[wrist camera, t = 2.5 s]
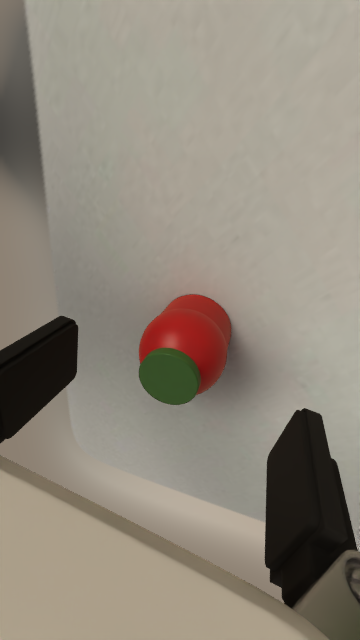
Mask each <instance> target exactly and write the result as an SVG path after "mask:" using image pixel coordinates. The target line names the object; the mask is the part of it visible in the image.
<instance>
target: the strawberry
mask: <svg viewBox="0 0 360 640" xmlns="http://www.w3.org/2000/svg"><path fill="white" fill-rule="evenodd" d="M230 337H231V323H230V320H229V318H228V316H227V314H226V312H225V311H224V310H223V308H222V307H221V306H220V305H219V304H217V303H216V302H215V301H213V300H211V299H209V298H207V297H204V296H200V295H185V296H181V297H179V298H177V299H175V300H174V301H172V302H171V303H170V304H169V305H168V306H167V307H166V309H165V310H164V311H163V312H162V313H161V314H160V315H159V316H157V317H156V318H155V319H154V320H153V321H152V322H151V323H150V324H149V325H148V326H147V328H146V329H145V331H144V333H143V335H142V338H141V341H140V345H139V360H140V364H141V365H140V368H139V378H140V381H141V384H142V386H143V387H144V389H145V390H146V391H147V392H148V393H149V394H150V395H151V396H152V397H154V398H155V399H157V400H159V401H161V402H163V403H166V404H171V405H181V404H185V403H187V402H189V401H191V400H192V399H193V398H194V397H195V396H196V395H198V394H200V393H202V392H204V391H206V390H208V389H209V388H210V387H211V386H213V385H214V384H215V383H216V382H217V380H218V379H219V377H220V376H221V374H222V372H223V370H224V367H225V364H226V359H227V348H228V345H229V341H230Z"/></svg>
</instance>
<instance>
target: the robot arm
mask: <svg viewBox="0 0 360 640" xmlns="http://www.w3.org/2000/svg"><path fill="white" fill-rule="evenodd" d="M77 350H78V325H76V322H75V321H74V320H72V319H70V318H67V317H65V316H59V317H57V318H56V319H54V320H52V321H51V322H49V323H47V324H45V325H44V326H42V327H40V328H38V329H37V330H35V331H33V332H32V333H30V334H28V335H26V336H25V337H23V338H21V339H20V340H18V341H16V342H14V343H13V344H11V345H9V346H7V347H6V348H4V349H2V350H1V351H0V443H1V442H2V441H4V440H5V439H9V438H11V437H12V436H14V435H15V434H16V433H17V432H18V431H19V430H20V429H21V428H22V427H23V426H24V425H25V424H26V423H27V422H28V421H29V420H31V418H33V417H34V416H35V415H36V414H37V413H38V412H39V411H40V410H41V409H42V408H43V407H44V406H46V405H47V404H48V403H49V402H50V401H51V400H52V399H53V398H54V397H55V396H56V395H57V394H58V393H59V392H60V391H61V390H63V389H64V388H65V387H66V386H67V385H68V384H69V383H70V382H71V381H72V380H73V379H74V378H75V376H76V373H77ZM265 564H266V567H267V568H269V569H270V582H271V583H273V584H275V585H277V586H279V587H281V588H282V599H283V600H284V602H285V603H282V602H280V601H279V600H277V599H275V598H274V597H272V596H270V595H269V594H267V593H265V592H264V591H262V590H260V589H259V588H257V587H255V586H253V585H252V584H250V583H247V582H246V581H244V580H242V579H240V578H238V577H237V576H235V575H233V574H231V573H229V572H227V571H225V570H224V569H222V568H220V567H218V566H216V565H214V564H212V563H211V562H209V561H207V560H205V559H203V558H201V557H199V556H197V555H195V554H193V553H191V552H189V551H188V550H185V549H184V548H182V547H180V546H178V545H176V544H174V543H172V542H170V541H168V540H166V539H164V538H162V537H160V536H158V535H156V534H155V533H153V532H150V531H149V530H147V529H145V528H143V527H141V526H139V525H137V524H135V523H133V522H131V521H129V520H127V519H125V518H123V517H121V516H119V515H117V514H115V513H113V512H112V511H110V510H108V509H106V508H104V507H101V506H100V505H98V504H96V503H94V502H92V501H90V500H88V499H86V498H84V497H82V496H80V495H78V494H76V493H74V492H72V491H70V490H68V489H66V488H64V487H62V486H60V485H58V484H56V483H54V482H53V481H51V480H48V479H47V478H45V477H43V476H41V475H39V474H36V473H35V472H32V471H30V470H29V469H27V468H25V467H23V466H20V465H19V464H17V463H14V462H13V461H11V460H9V459H7V458H5V457H3V456H1V455H0V640H360V552H359V551H358V550H357V546H356V542H355V538H354V533H353V529H352V525H351V521H350V516H349V512H348V508H347V504H346V499H345V495H344V491H343V487H342V482H341V478H340V474H339V470H338V466H337V463H336V461H335V460H334V459H332V458H331V457H330V452H329V447H328V443H327V438H326V434H325V429H324V424H323V420H322V416H321V415H320V414H319V413H316V412H313V411H311V410H308V409H306V408H304V409H302V410H301V411H300V410H296V412H295V413H294V415H293V416H292V418H291V419H290V421H289V423H288V424H287V426H286V427H285V429H284V431H283V432H282V434H281V436H280V437H279V439H278V440H277V442H276V444H275V445H274V447H273V448H272V450H271V452H270V453H269V456H268V460H267V488H266V532H265Z"/></svg>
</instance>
